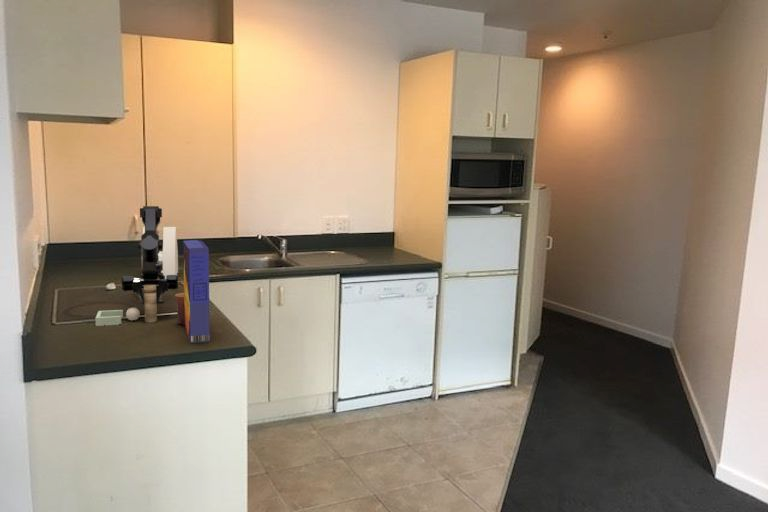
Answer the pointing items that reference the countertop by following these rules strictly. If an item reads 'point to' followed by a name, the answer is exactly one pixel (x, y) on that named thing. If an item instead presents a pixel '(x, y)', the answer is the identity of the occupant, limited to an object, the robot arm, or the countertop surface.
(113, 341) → the countertop surface
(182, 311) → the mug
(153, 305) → the player peg
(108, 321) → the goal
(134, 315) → the ball
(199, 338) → the cereal box
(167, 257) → the milk carton
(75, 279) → the countertop surface
